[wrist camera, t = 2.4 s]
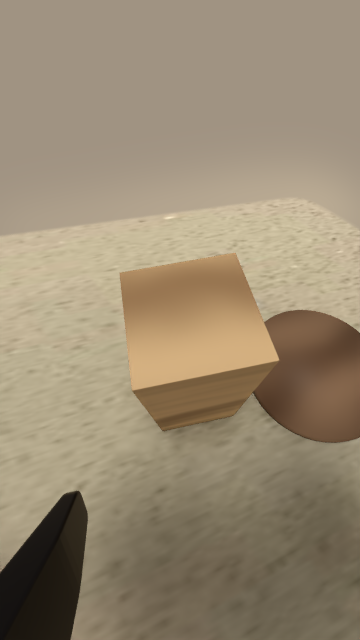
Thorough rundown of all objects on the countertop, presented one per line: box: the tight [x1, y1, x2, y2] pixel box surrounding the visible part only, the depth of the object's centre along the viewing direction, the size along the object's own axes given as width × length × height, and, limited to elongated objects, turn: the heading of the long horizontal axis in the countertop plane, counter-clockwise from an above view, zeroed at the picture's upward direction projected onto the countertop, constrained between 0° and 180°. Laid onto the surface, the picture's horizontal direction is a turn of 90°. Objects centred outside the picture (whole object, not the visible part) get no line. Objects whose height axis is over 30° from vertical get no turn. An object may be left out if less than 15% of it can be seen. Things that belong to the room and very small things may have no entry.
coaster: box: [254, 310, 360, 442], centre depth 21 cm, size 11×11×1 cm
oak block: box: [120, 253, 280, 431], centre depth 16 cm, size 6×6×12 cm
